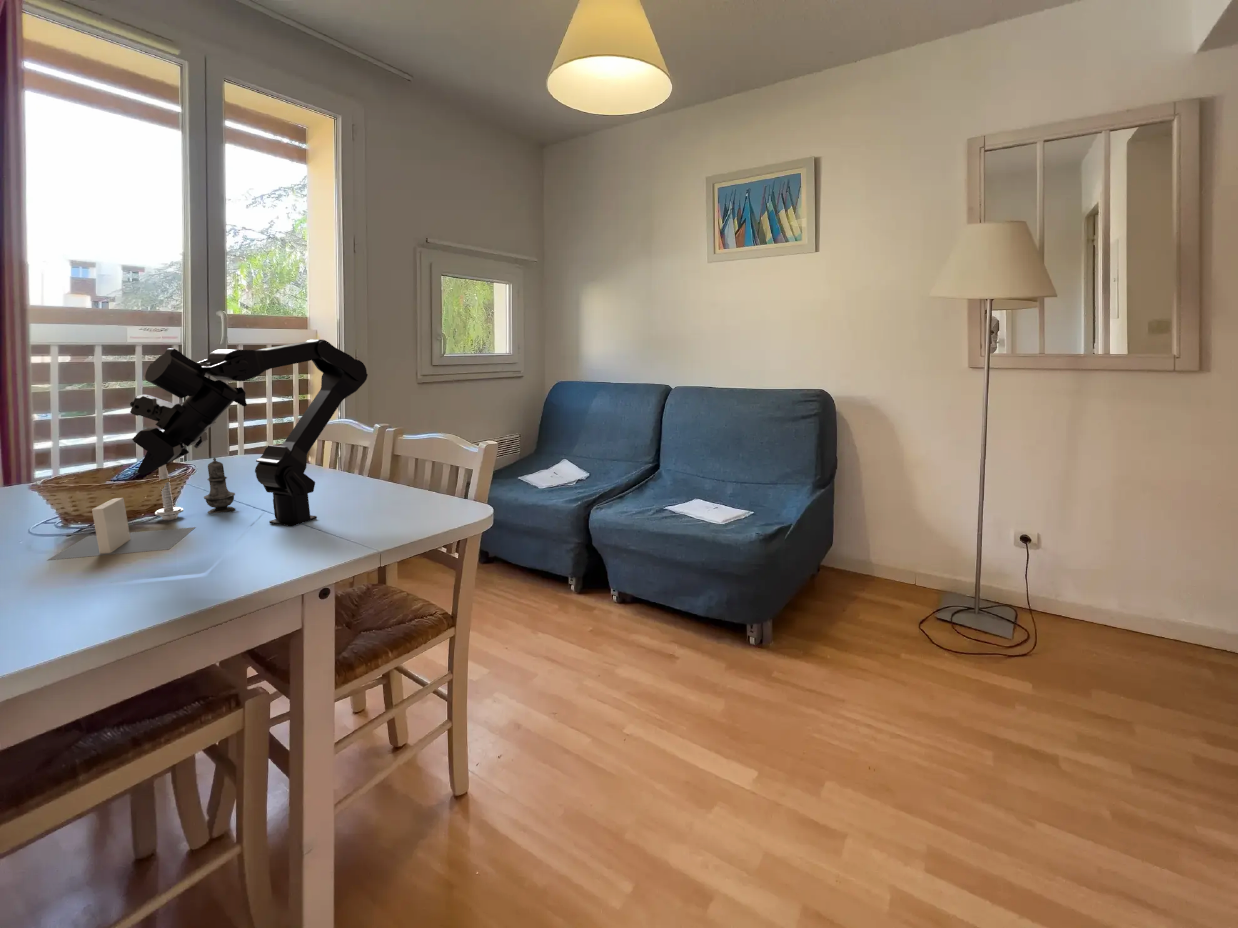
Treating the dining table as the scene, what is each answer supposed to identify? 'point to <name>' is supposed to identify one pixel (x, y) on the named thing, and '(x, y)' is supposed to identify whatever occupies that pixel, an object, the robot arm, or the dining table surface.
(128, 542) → the mat
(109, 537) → the tile
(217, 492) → the salt shaker
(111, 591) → the dining table surface
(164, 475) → the screw
